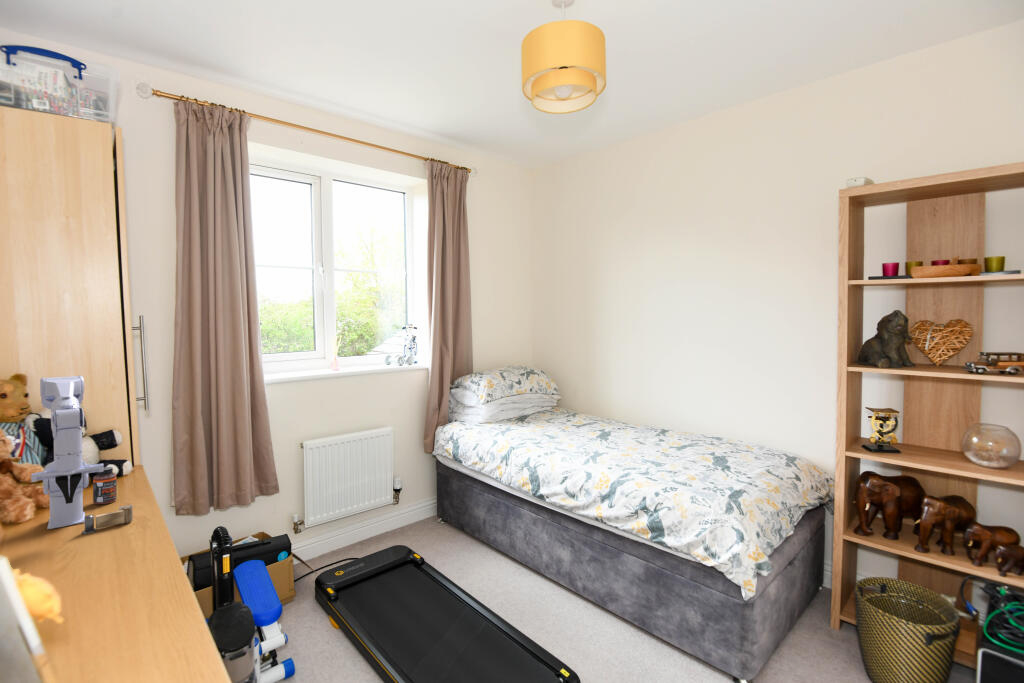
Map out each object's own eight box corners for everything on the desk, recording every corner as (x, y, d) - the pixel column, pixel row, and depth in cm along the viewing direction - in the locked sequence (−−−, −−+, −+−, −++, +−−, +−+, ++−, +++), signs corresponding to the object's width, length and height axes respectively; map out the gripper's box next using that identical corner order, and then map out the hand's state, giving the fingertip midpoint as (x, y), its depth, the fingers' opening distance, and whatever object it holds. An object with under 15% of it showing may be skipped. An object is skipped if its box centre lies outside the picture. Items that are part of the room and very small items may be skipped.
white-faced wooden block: (119, 522, 144) (119, 507, 144) (132, 519, 146) (131, 504, 146) (119, 523, 143) (119, 508, 143) (132, 520, 145) (132, 506, 145)
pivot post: (81, 531, 137) (81, 515, 137) (96, 528, 140) (96, 513, 139) (81, 535, 135) (81, 519, 135) (97, 532, 137) (96, 516, 137)
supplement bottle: (103, 506, 157) (102, 471, 156) (88, 505, 158) (87, 470, 158) (121, 500, 163) (120, 466, 162) (107, 498, 164) (106, 465, 163)
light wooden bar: (96, 530, 138) (96, 515, 138) (95, 528, 139) (95, 513, 139) (130, 522, 144) (130, 507, 144) (129, 520, 145) (129, 506, 145)
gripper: (29, 460, 125) (30, 513, 125) (103, 451, 134) (104, 500, 135) (32, 455, 130) (33, 505, 130) (102, 446, 140) (103, 493, 140)
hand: (69, 502), depth 133 cm, fingers closed
